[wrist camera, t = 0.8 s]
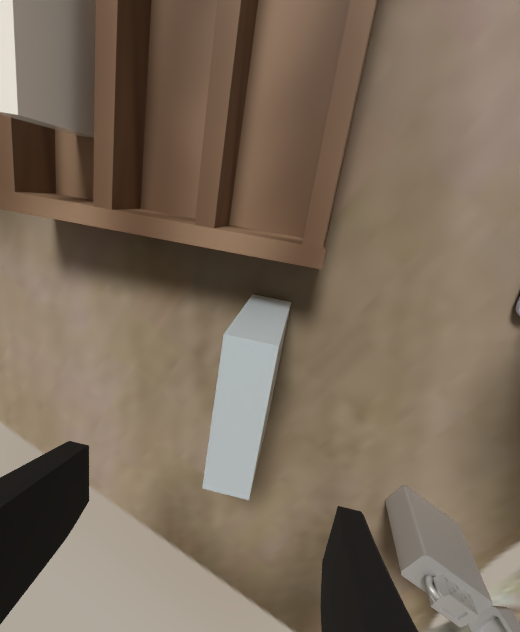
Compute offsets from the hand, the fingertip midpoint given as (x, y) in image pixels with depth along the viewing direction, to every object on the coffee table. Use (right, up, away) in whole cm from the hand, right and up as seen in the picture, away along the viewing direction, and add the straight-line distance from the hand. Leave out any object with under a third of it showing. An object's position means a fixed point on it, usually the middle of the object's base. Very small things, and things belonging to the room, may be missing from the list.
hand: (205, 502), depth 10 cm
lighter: (+12, -7, +11) cm, 18 cm away
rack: (-1, +16, +6) cm, 17 cm away
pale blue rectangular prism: (+2, +3, +9) cm, 10 cm away
